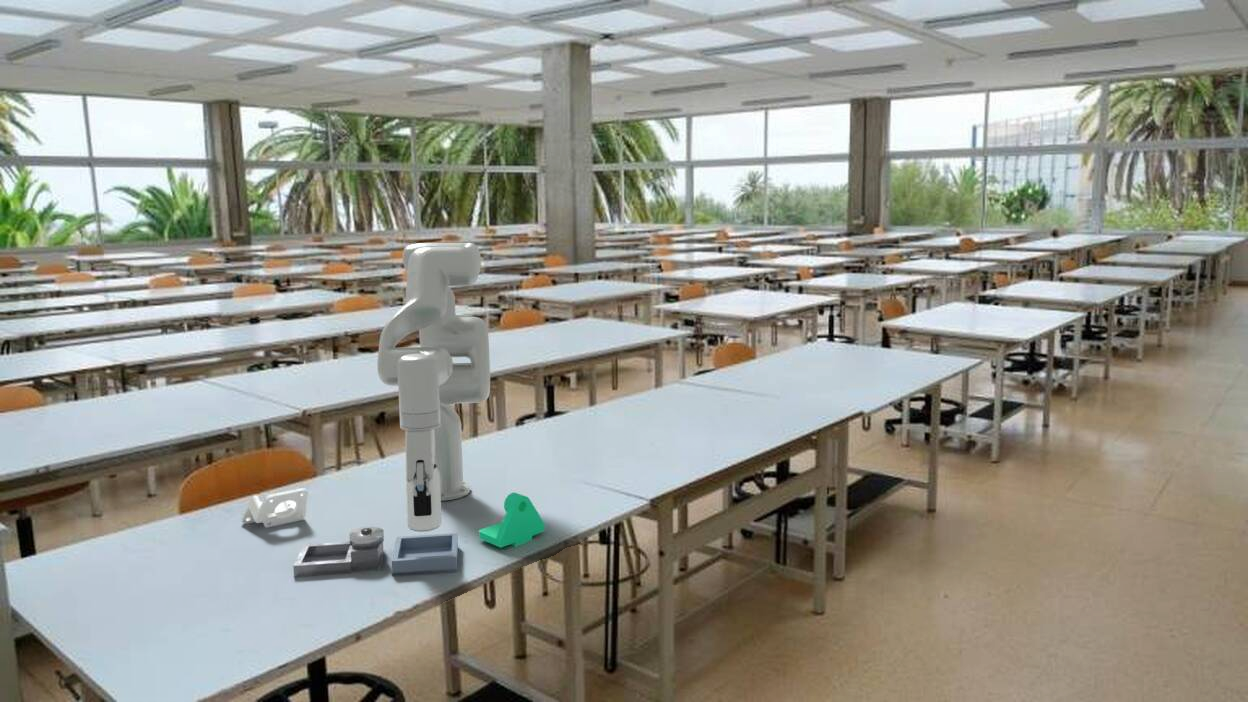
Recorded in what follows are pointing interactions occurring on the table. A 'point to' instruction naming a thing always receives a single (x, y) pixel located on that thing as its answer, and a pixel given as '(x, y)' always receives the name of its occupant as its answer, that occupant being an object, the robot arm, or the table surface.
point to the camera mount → (514, 523)
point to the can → (435, 518)
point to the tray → (425, 554)
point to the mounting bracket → (277, 508)
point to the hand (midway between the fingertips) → (424, 508)
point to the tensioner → (360, 554)
